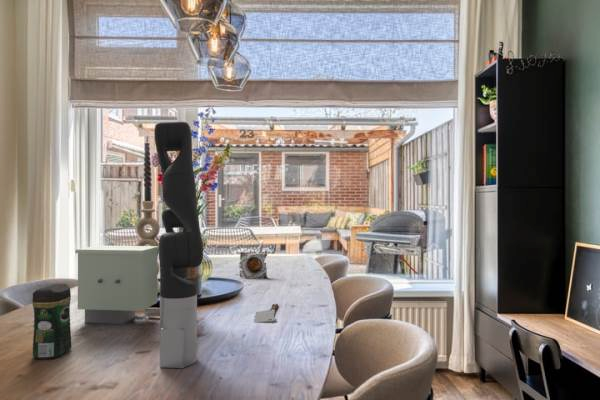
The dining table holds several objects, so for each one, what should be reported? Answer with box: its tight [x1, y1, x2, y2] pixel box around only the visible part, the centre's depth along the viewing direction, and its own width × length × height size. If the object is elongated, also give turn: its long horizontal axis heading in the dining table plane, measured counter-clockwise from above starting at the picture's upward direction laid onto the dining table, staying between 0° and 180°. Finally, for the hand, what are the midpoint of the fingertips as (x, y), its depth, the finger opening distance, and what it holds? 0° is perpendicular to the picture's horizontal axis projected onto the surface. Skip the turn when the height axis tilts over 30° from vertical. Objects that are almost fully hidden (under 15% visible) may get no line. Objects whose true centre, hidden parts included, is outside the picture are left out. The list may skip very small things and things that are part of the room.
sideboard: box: [75, 245, 159, 325], centre depth 152 cm, size 14×23×25 cm, turn 84°
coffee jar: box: [31, 283, 72, 360], centre depth 121 cm, size 10×8×19 cm
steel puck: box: [132, 314, 150, 325], centre depth 153 cm, size 5×5×2 cm
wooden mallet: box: [143, 307, 160, 318], centre depth 158 cm, size 4×14×8 cm, turn 84°
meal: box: [238, 252, 268, 279], centre depth 239 cm, size 15×4×13 cm, turn 82°
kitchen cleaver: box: [253, 303, 279, 324], centre depth 164 cm, size 24×1×10 cm
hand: (177, 312), depth 157 cm, fingers closed on wooden mallet, 4 cm apart
